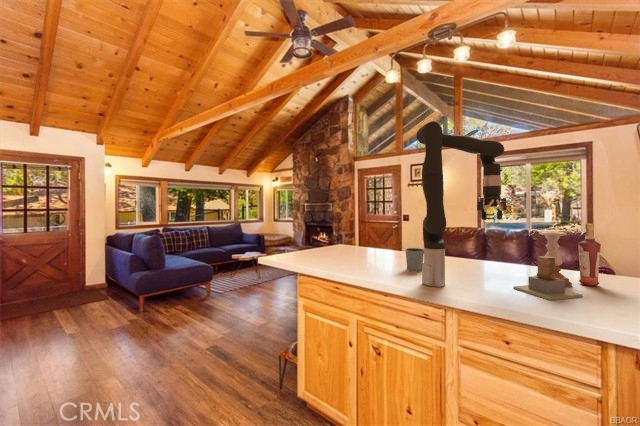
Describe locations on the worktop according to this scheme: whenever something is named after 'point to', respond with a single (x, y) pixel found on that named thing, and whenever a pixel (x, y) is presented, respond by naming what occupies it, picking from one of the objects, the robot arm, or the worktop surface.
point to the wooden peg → (546, 268)
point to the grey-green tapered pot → (414, 259)
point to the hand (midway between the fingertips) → (491, 219)
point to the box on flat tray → (547, 289)
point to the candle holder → (555, 253)
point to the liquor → (589, 258)
